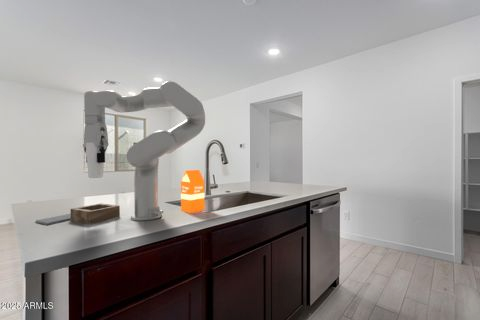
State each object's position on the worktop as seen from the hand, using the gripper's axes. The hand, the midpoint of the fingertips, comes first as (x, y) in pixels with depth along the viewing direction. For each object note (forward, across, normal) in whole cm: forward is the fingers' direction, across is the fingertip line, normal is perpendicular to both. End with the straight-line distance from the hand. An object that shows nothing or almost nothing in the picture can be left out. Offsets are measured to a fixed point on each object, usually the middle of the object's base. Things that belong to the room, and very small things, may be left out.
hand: (95, 162), depth 100 cm
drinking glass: (+7, 0, 0) cm, 7 cm away
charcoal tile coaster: (+24, +13, +7) cm, 28 cm away
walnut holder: (+24, 0, 0) cm, 24 cm away
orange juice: (+25, -28, -31) cm, 48 cm away
